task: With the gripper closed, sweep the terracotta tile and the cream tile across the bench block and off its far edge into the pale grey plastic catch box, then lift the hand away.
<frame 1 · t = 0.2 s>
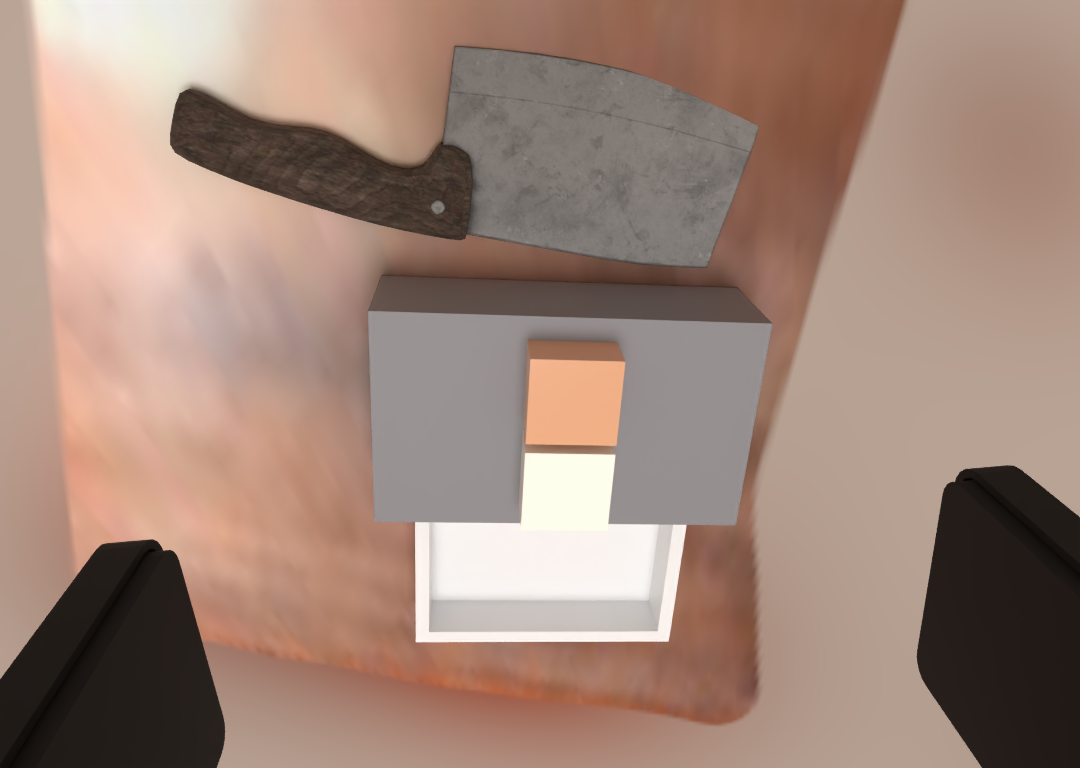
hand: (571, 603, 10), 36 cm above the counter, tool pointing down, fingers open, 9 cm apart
bench block: (556, 380, 48), on the counter
catch box: (544, 541, 53), on the counter
cleaver: (474, 148, 43), on the counter
cream tile: (562, 468, 43), point 6 cm above the counter, touching bench block
terracotta tile: (569, 382, 41), point 6 cm above the counter, touching bench block
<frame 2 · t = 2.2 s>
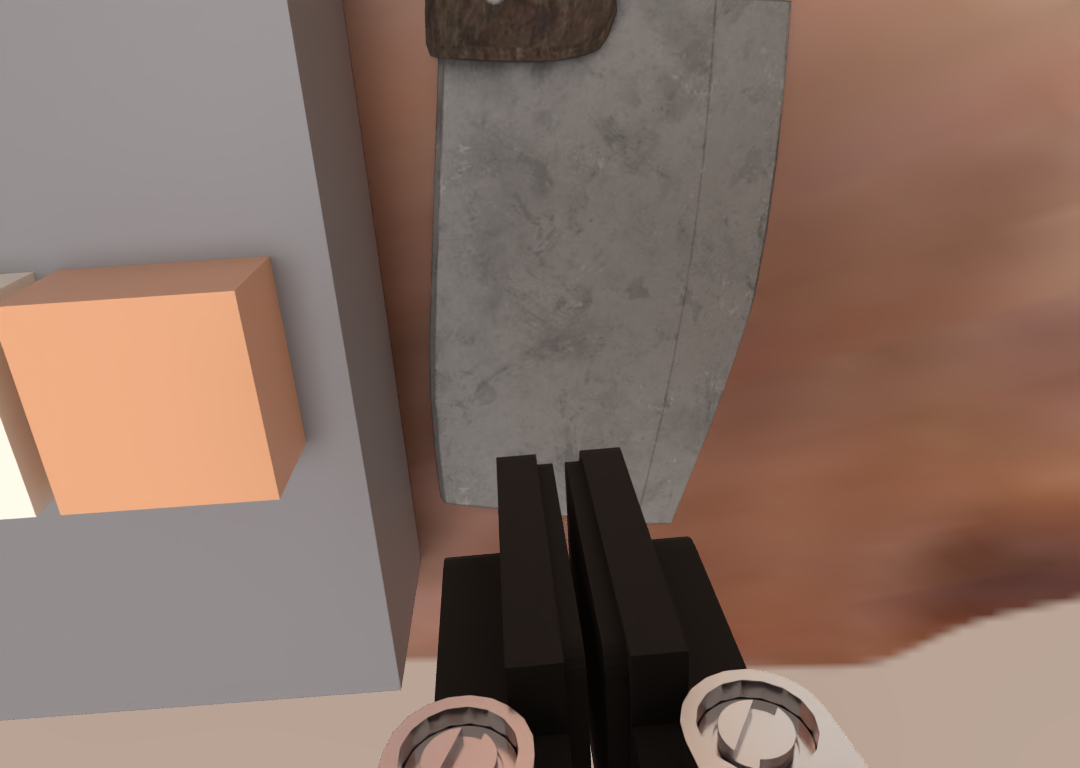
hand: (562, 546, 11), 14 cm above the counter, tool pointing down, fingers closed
bench block: (174, 289, 24), on the counter
cleaver: (598, 57, 22), on the counter
terracotta tile: (187, 361, 18), point 6 cm above the counter, touching bench block
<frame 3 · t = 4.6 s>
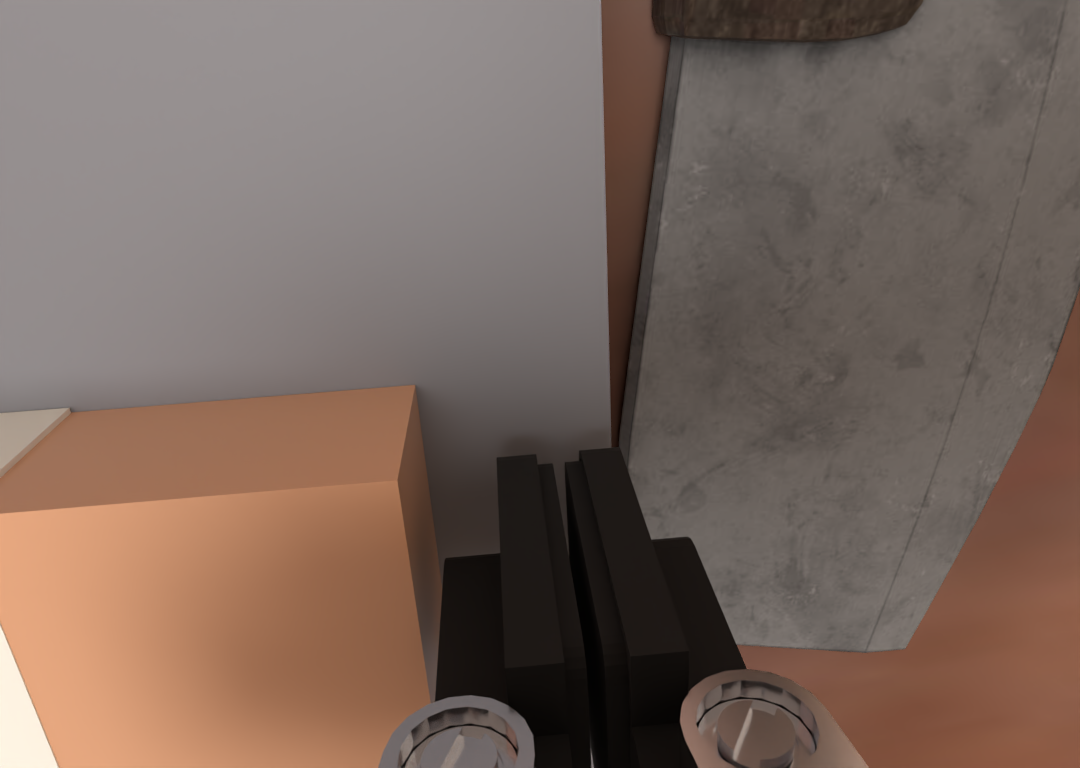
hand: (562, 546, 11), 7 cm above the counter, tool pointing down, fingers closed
bench block: (286, 381, 17), on the counter
cleaver: (874, 36, 16), on the counter
terracotta tile: (276, 541, 12), point 6 cm above the counter, touching bench block, cream tile, gripper
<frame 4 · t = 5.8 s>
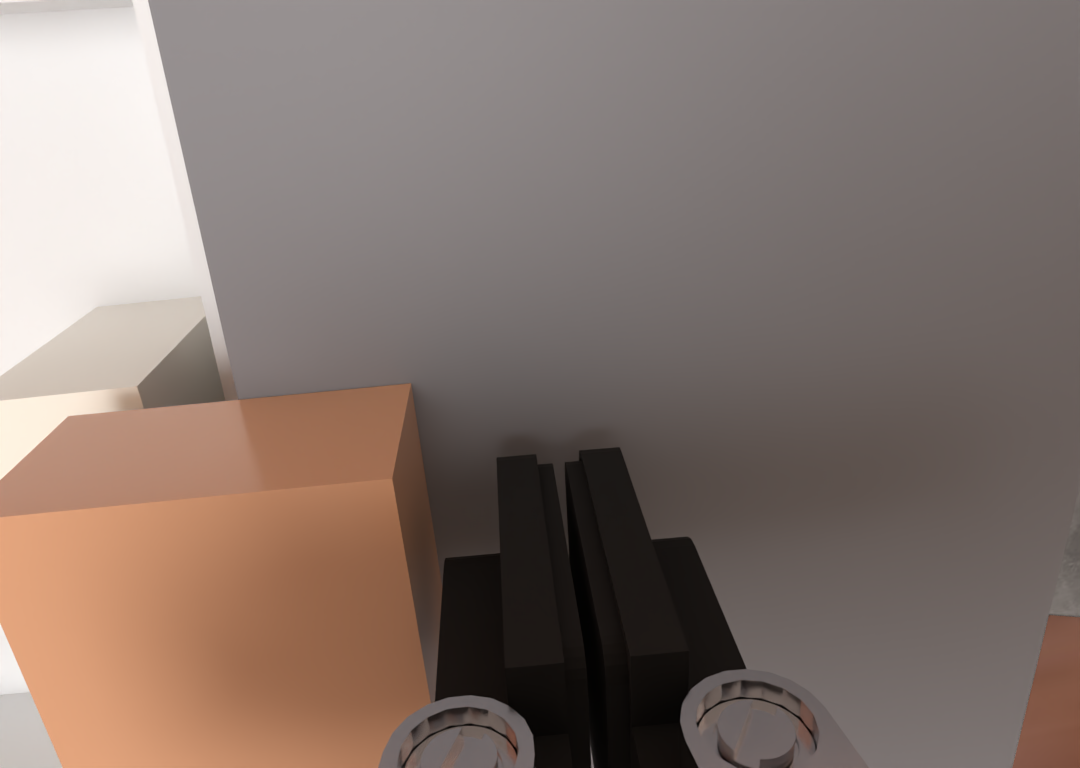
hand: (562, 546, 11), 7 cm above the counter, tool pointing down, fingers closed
bench block: (620, 354, 17), on the counter
catch box: (76, 397, 17), on the counter
cream tile: (221, 450, 15), point 3 cm above the counter, tilted 90°, touching catch box
terracotta tile: (275, 541, 12), point 6 cm above the counter, touching bench block, gripper
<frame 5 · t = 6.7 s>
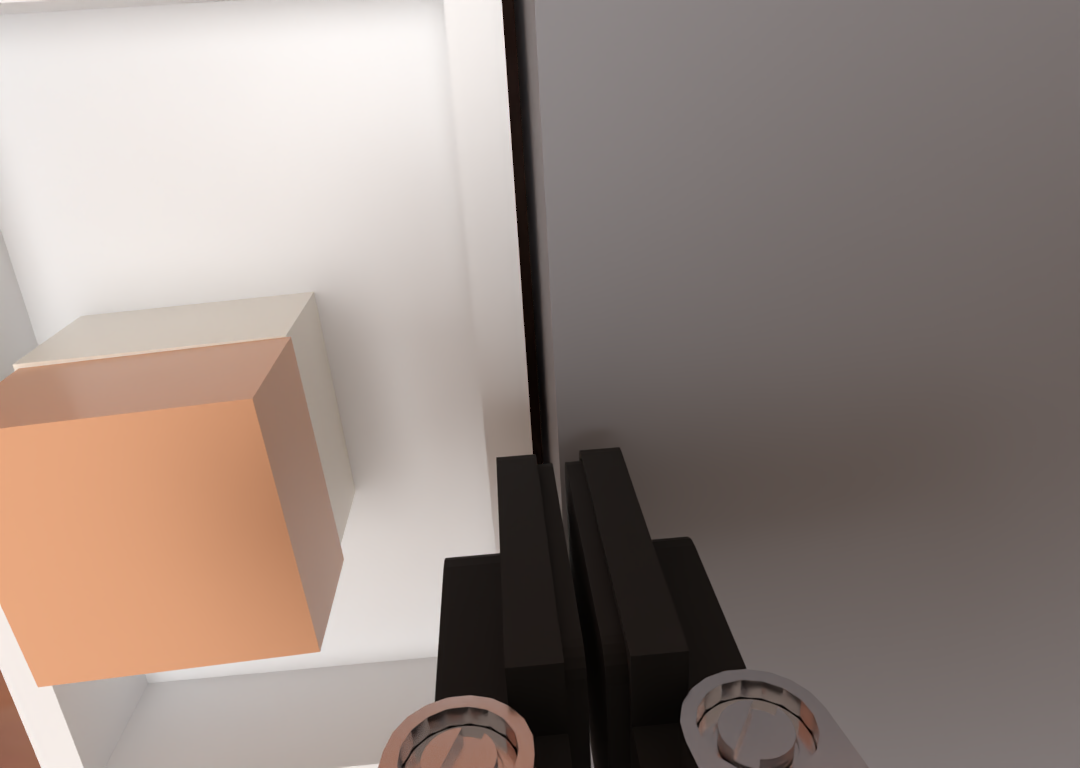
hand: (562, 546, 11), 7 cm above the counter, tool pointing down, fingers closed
bench block: (814, 340, 18), on the counter
catch box: (279, 382, 17), on the counter
cream tile: (185, 468, 14), point 3 cm above the counter, tilted 180°, touching catch box, terracotta tile
terracotta tile: (192, 470, 14), point 3 cm above the counter, touching cream tile
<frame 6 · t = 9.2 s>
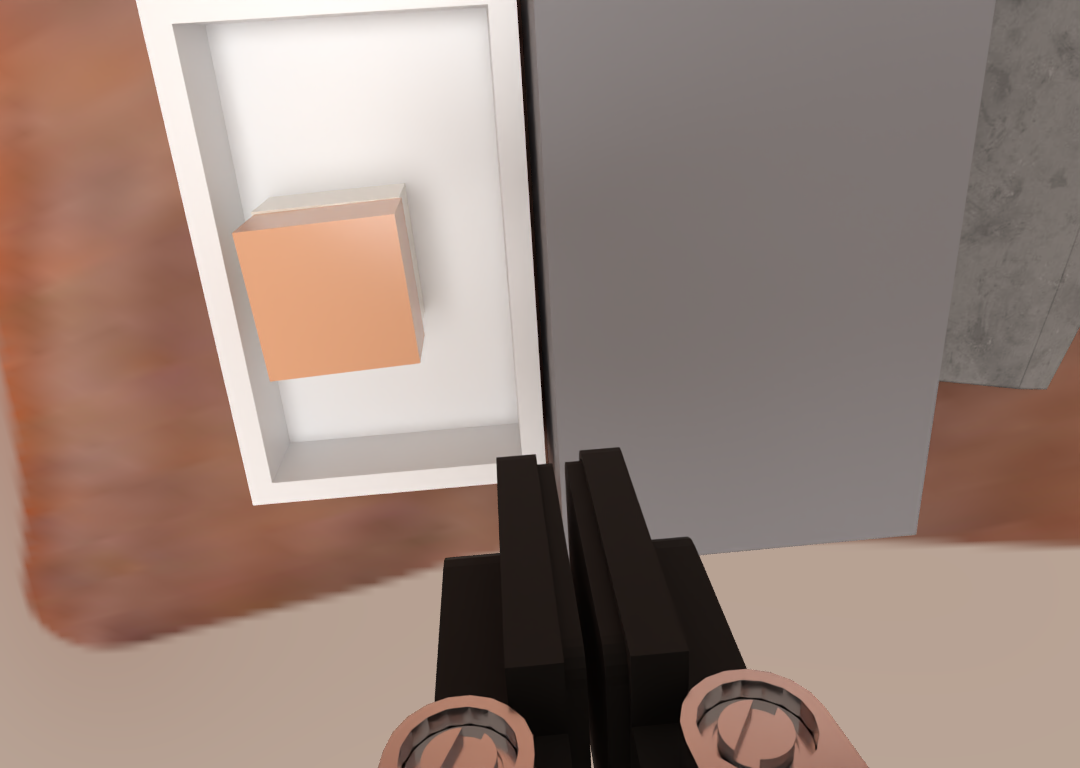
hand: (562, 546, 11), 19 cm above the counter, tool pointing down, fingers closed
bench block: (702, 218, 29), on the counter
catch box: (380, 242, 28), on the counter
cream tile: (339, 275, 26), point 3 cm above the counter, tilted 180°, touching catch box, terracotta tile
terracotta tile: (342, 277, 26), point 3 cm above the counter, touching cream tile
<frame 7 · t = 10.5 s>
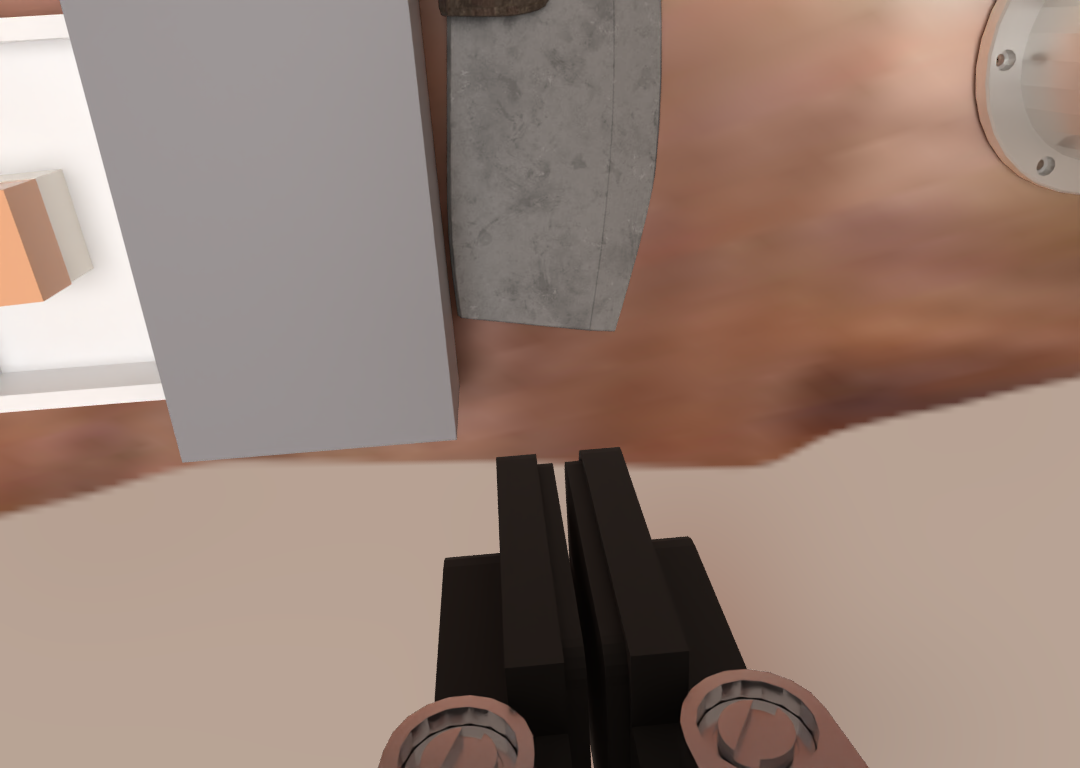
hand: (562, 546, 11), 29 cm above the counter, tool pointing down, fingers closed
bench block: (307, 197, 37), on the counter
catch box: (54, 215, 37), on the counter
cleaver: (545, 13, 36), on the counter
terracotta tile: (0, 238, 34), point 3 cm above the counter, touching cream tile
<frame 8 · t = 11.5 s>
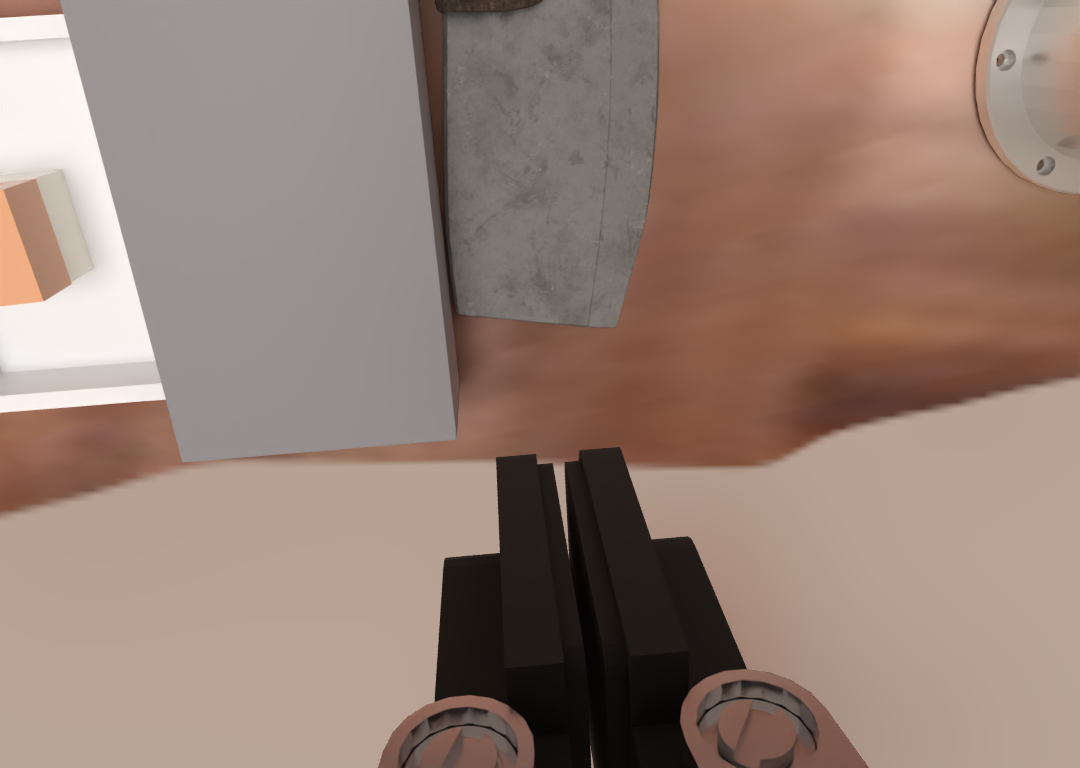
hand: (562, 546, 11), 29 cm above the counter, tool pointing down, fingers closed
bench block: (307, 197, 37), on the counter
catch box: (54, 214, 37), on the counter
cleaver: (542, 9, 36), on the counter
terracotta tile: (0, 238, 34), point 3 cm above the counter, touching cream tile
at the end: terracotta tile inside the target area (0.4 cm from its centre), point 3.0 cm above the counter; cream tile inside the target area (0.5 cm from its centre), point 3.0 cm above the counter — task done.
